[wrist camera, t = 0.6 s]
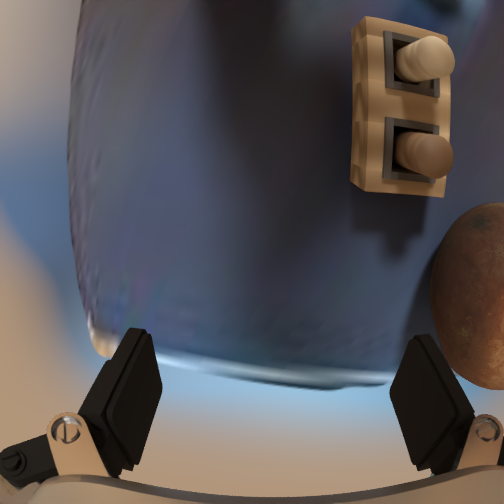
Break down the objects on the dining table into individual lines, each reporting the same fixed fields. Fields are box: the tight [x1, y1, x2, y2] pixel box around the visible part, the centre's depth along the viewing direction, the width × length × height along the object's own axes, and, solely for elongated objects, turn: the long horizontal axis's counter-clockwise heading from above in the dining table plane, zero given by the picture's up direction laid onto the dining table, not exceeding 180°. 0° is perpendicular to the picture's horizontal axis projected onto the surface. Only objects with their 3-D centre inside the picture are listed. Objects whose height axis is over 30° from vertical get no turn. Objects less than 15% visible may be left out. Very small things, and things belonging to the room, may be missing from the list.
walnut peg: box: [392, 131, 454, 179], centre depth 26 cm, size 4×4×7 cm
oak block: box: [350, 16, 450, 197], centre depth 29 cm, size 19×10×7 cm, turn 0°
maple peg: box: [393, 36, 455, 83], centre depth 23 cm, size 4×4×7 cm
